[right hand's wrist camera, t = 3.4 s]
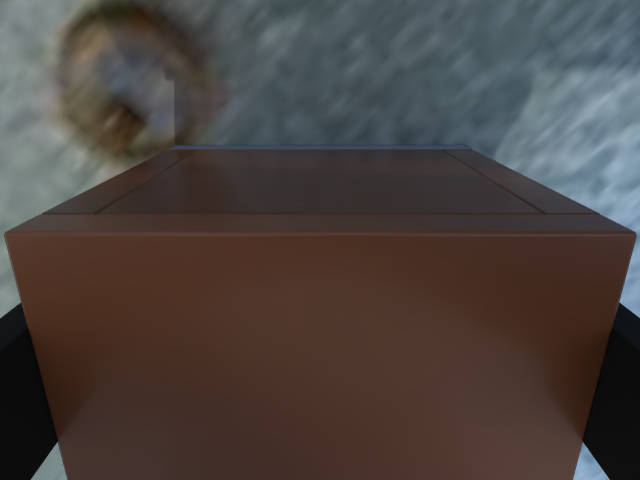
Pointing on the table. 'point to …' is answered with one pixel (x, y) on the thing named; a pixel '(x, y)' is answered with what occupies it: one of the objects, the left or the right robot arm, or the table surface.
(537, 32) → the table surface
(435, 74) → the table surface
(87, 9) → the table surface
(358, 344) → the cabinet
